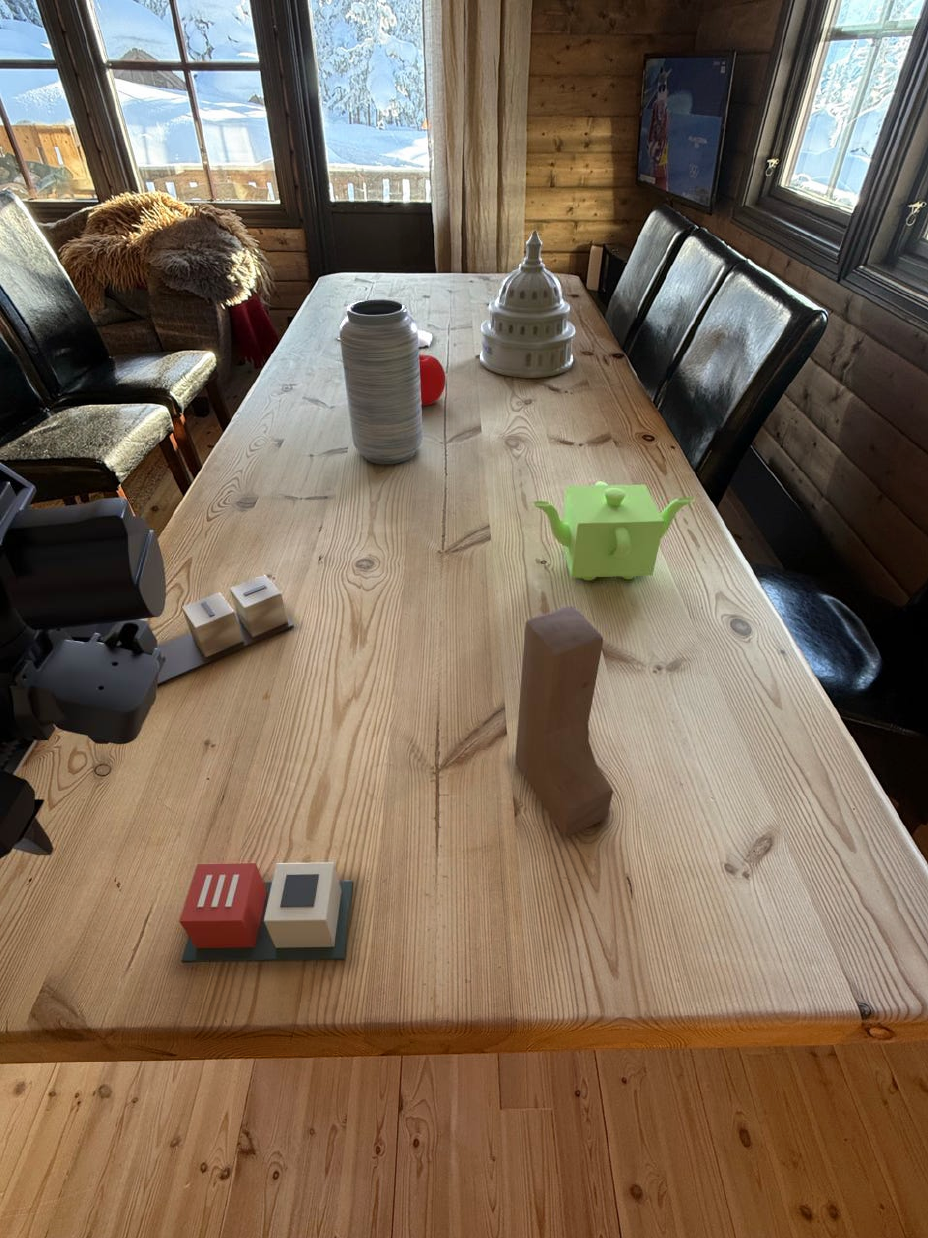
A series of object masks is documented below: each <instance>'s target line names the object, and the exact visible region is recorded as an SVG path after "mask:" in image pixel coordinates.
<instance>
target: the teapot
mask: <svg viewBox="0 0 928 1238" xmlns="http://www.w3.org/2000/svg"><path fill="white" fill-rule="evenodd" d="M695 500H696V499H695V498H694V497H679V498H676V499H674V500H672V501H671V502H669V503H668V505H667V506H666V507H665V508H664V509H663V511H662V512H660V511H659V509H658V507H657V504H656V502H655V501H654V497H652V495H651V493H650V491H649V489H648V487H647V485H646V484H611V485H609V484H607V483H606V482H605V481H597V482H596V483H595V484H594V485H575V486H571V485H570V486H565V492H564V500H563V511H562V519H561V518H560V516H559V515H560V514H559V512H558V510H557V508H556V506H555V505H554V504H552V503H551V502H548V501H543V500H542V501H539V500H537V501H533V502H532V503H531V505H532V506H534V507H536V508H539V509H540V510H541V511H543V512H544V513H545V514H546V516H547V519H548V522H549V527H550V530H551V533H552V535H553V537H554V539H555V540H556V541H557V542H558V543H559V544H560V545H561V546H562V549H563V554H564V556H565V560H566V565H567V568H568V572H569V575H570V578H572V579H575V578H576V579H577V578H579V579H582V580H584V581H593V580H595V579H597V578H606V577H608V578H609V577H620V578H622V579H624V580H633V579H635V578H636V577H640V576H643V577H644V576H653V575H654V570H655V566H656V562H657V557H658V554H659V553H658V552H659V549H660V543H661V539H662V538H663V537H664V536H665V535H666V534H667V532H668V530H669V529H670V526H671V524H672V522H673V520H674V518H675V516H676V515H677V513H678V512H679V511H680V510H681V509H683V507H685V506H686V505H687V506H688V505H689V504H691V503H694V502H695Z"/></svg>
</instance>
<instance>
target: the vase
mask: <svg viewBox="0 0 928 1238" xmlns="http://www.w3.org/2000/svg"><path fill="white" fill-rule="evenodd" d="M407 307H408V306H407V305H406V304H405V303H404V302H401V301H399V300H394V299H388V298H387V299H386V298H373V299H372V298H371V299H365V300H364V299H363V300H360V301H356V302H354V303H351V304H350V305H348V306H347V308H346V315H347V316H346V317H345V318H344V319H343V321H342V323H341V324H340V327H339V333H338V334H339V338H340V340H339V341H340V342H339V343H340V349H341V350H340V351H341V357H342V358H341V359H342V366H343V374H344V382H345V388H346V399H347V406H348V415H349V422H350V423H349V424H350V431H351V438H352V439H351V440H352V443H353V446H354V447H355V449H356V450H357V451H358V452H359V453H360V454H361V455H362V456H363V457H364V458H365V460H367V461H368V462H370V463H373V464H376V465H387V466H388V465H397V464H401V463H405V462H406V461H408V460H410V459H412V457H414V455H415V454H416V452H417V451H418V449H419V448H420V447H421V445H422V443H423V439H424V431H423V429H424V428H423V427H424V426H423V410H422V409H423V408H422V407H423V406H421V385H420V365H419V355H420V347H419V344H418V330H419V329H418V325H417V323H416V322H415V320H414V319H413V317H412V316H411V315H409V314H408V309H407Z"/></svg>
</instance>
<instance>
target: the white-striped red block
mask: <svg viewBox="0 0 928 1238" xmlns="http://www.w3.org/2000/svg"><path fill="white" fill-rule="evenodd" d="M264 882H265V881H264V880H263V877H262V874H261V872H260V870H259V868H258V864H257V863H256V862H218V863H215V862H214V863H213V862H212V863H210V862H209V863H197V864H196V868H195V871H194V874H193V876H192V880H191V883H190V886H189V889H188V892H187V896H186V899H185V902H184V906H183V908H182V912H181V915H180V918H179V923H180V925H181V926H182V929H183V930H184V931H185V933H186V934H187V937H188V936H189V938H190V939H191V941H192V942H193V944H194V946H195V947H196V948H242V947H255V944H256V939H257V935H258V930H259V926H260V921H261V917H262V912H263V908H264V903H265V899H266V894H267V889H266V887H265V884H264Z"/></svg>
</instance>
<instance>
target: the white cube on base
mask: <svg viewBox="0 0 928 1238" xmlns="http://www.w3.org/2000/svg"><path fill="white" fill-rule="evenodd" d="M274 867H275V868H274V872H273V876H272V881H263V882H264V884H265V887H266V889H267V894H266V899H265V903H264V908H263V912H262V917H261V921H260V926H259V930H258V935H257V939H256V944H255V947H242V948H196V947H195V946H194V944H193V942H192V941H191V939H190V938H189V936H188V935H187V940H186V943H185V946H184V948H183V949H184V950H183V953H182V957H181V960H180V961H181V963H182V964H186V963H191V964H194V963H248V962H250V963H254V962H255V963H256V962H312V961H313V962H317V961H318V962H319V961H322V962H323V961H324V962H325V961H345V957H346V950H347V940H348V932H349V924H350V916H351V907H352V899H353V891H354V881H353V880H339V876H338V872H337V868H336V865H335V862H277V863H275V866H274Z"/></svg>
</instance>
